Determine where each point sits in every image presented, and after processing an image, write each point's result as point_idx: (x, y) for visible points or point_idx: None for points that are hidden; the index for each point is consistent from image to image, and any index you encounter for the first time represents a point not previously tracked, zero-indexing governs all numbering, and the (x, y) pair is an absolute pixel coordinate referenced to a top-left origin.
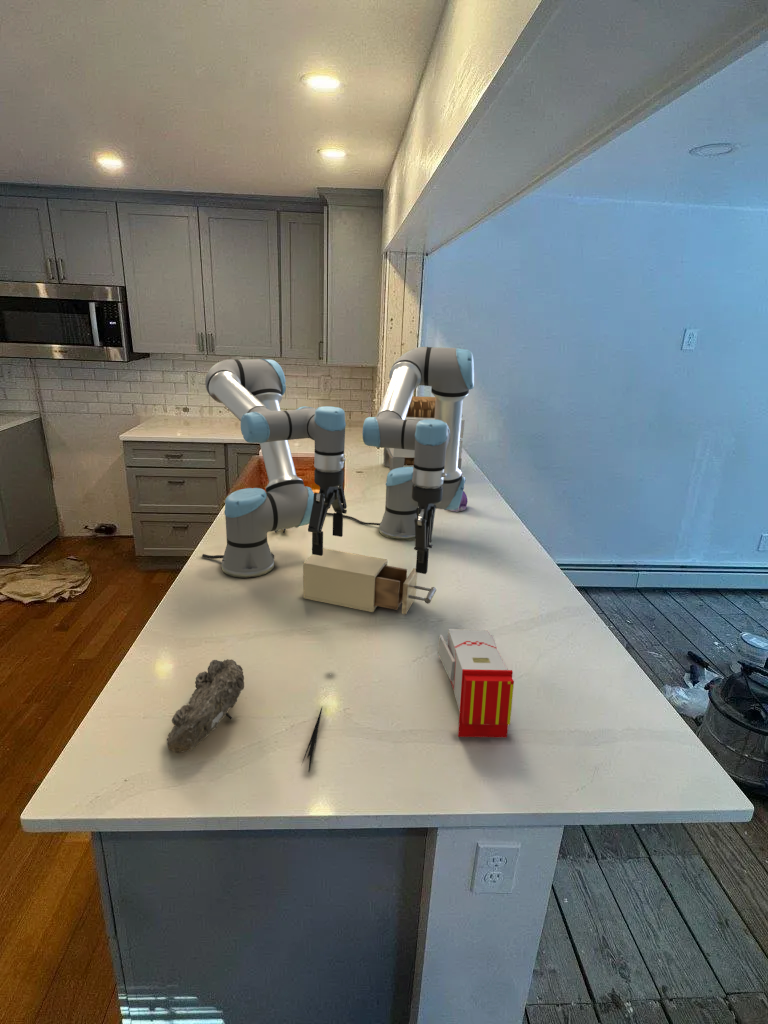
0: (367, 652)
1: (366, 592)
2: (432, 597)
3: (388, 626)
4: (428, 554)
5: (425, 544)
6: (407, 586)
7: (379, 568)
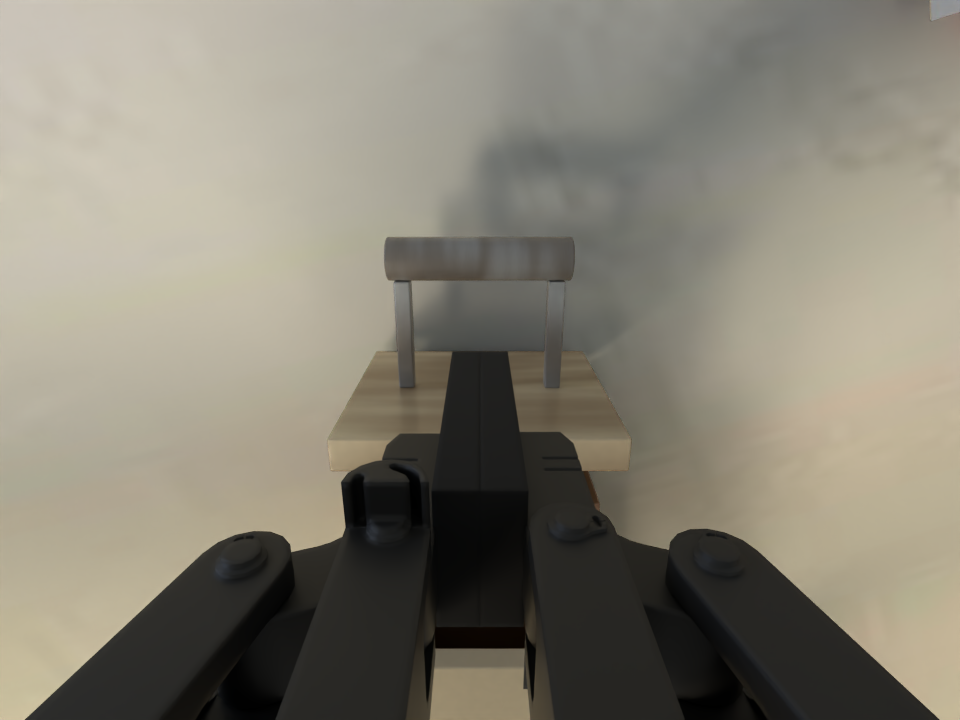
0: (928, 418)
1: None
2: (506, 237)
3: (686, 398)
4: (444, 441)
5: (787, 649)
6: (626, 432)
7: (503, 672)
